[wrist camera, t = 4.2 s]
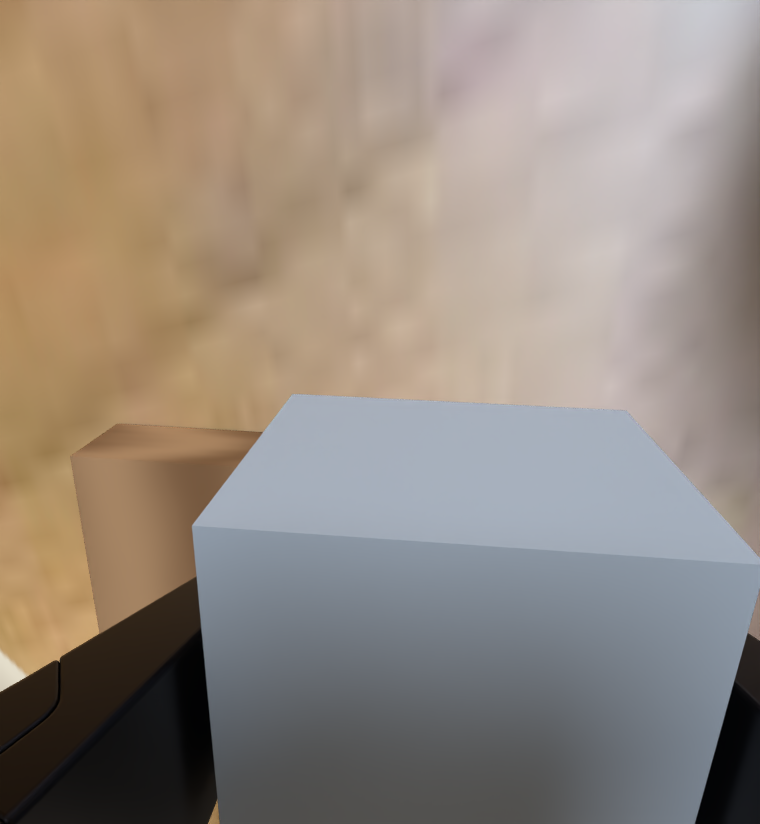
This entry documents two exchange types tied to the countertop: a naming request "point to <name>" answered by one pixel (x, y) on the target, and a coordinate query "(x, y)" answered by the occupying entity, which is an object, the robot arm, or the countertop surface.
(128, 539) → the base block
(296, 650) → the blue-grey squarish block
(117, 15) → the countertop surface
